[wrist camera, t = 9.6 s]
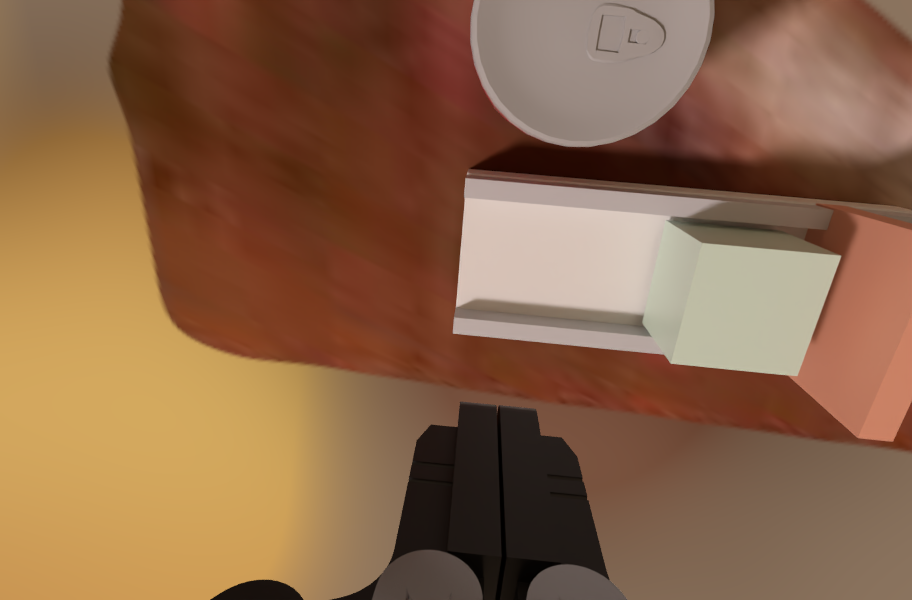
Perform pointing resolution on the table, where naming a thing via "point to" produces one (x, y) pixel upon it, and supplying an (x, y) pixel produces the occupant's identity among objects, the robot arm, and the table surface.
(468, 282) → the channel rail
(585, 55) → the canned food
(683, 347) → the pale sage green cube
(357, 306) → the table surface
